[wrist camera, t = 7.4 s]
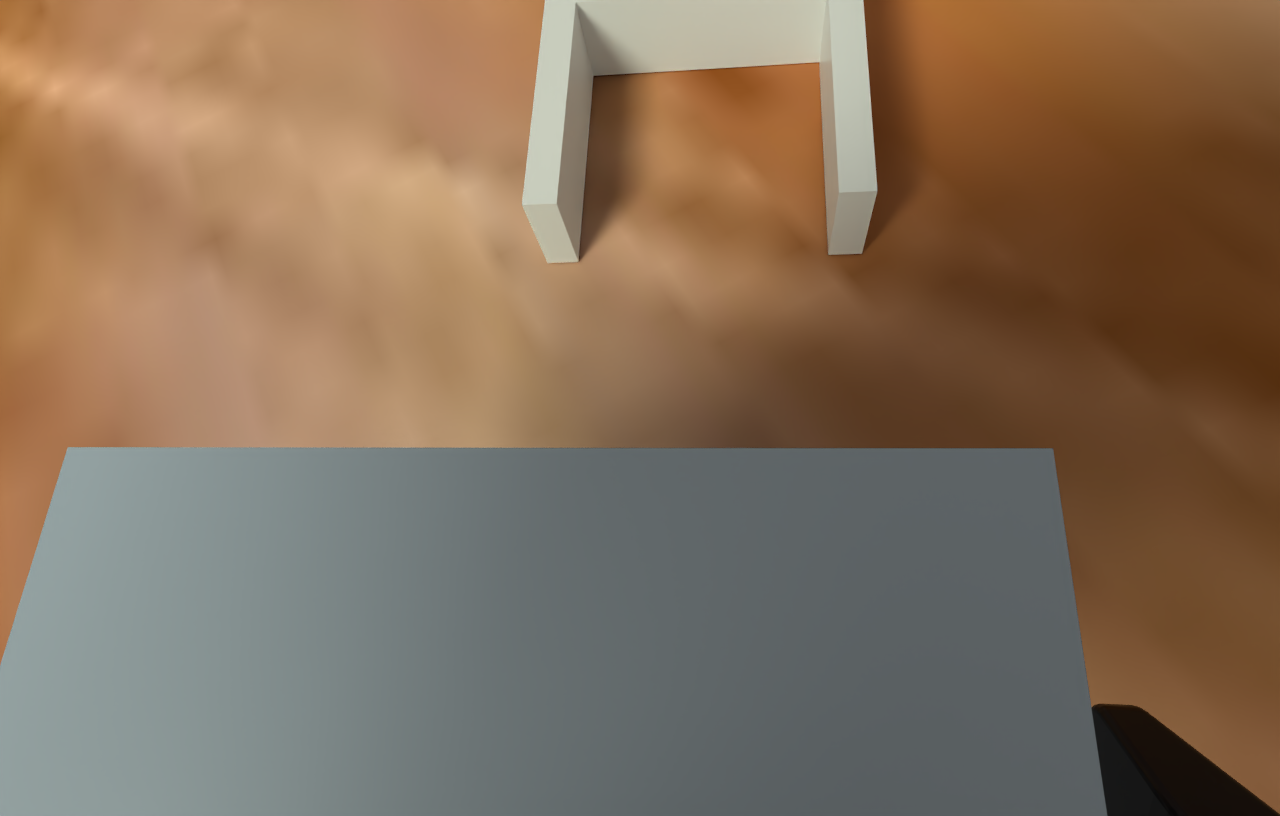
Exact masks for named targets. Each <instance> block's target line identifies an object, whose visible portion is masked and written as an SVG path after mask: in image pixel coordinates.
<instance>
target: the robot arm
mask: <svg viewBox="0 0 1280 816" xmlns="http://www.w3.org/2000/svg"><path fill="white" fill-rule="evenodd" d="M1091 709H1092V715H1093V722H1094V729H1095V736H1096V743H1097V749H1098V756H1099V763H1100V770H1101V776H1102V783H1103V790H1104V797H1105V803H1106V810H1107V816H1280V814H1279V813H1277V812H1276V811H1275V810H1274V809H1272V808H1271V807H1270V806H1268V805H1267V804H1266V803H1264V802H1263V801H1262V800H1261V799H1259V798H1258V797H1257V796H1255V795H1254V794H1253V793H1251V792H1250V791H1249V790H1248V789H1246V788H1245V787H1244V786H1242V785H1241V784H1240V783H1239V782H1237V781H1236V780H1235V779H1233V778H1232V777H1231V776H1229V775H1228V774H1227V773H1226V772H1224V771H1223V770H1222V769H1220V768H1219V767H1218V766H1216V765H1215V764H1214V763H1213V762H1211V761H1210V760H1209V759H1207V758H1206V757H1205V756H1204V755H1202V754H1201V753H1200V752H1198V751H1197V750H1196V749H1194V748H1193V747H1192V746H1191V745H1189V744H1188V743H1187V742H1185V741H1184V740H1183V739H1181V738H1180V737H1179V736H1178V735H1176V734H1175V733H1174V732H1172V731H1171V730H1170V729H1169V728H1167V727H1166V726H1165V725H1163V724H1162V723H1161V722H1159V721H1158V720H1157V719H1156V718H1154V717H1153V716H1152V715H1150V714H1149V713H1148V712H1146V711H1145V710H1143V709H1142V708H1140V707H1137V706H1133V705H1118V704H1097V705H1094V706H1093V707H1092V708H1091Z"/></svg>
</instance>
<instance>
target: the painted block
mask: <svg viewBox="0 0 1280 816" xmlns="http://www.w3.org/2000/svg"><path fill="white" fill-rule="evenodd" d="M0 816H1107V810H1106V803H1105V797H1104V790H1103V783H1102V776H1101V770H1100V763H1099V756H1098V749H1097V743H1096V736H1095V729H1094V722H1093V715H1092V709H1091V702H1090V695H1089V688H1088V682H1087V675H1086V668H1085V661H1084V655H1083V648H1082V641H1081V634H1080V628H1079V621H1078V614H1077V607H1076V601H1075V594H1074V587H1073V580H1072V574H1071V567H1070V560H1069V553H1068V546H1067V540H1066V533H1065V526H1064V519H1063V513H1062V506H1061V499H1060V492H1059V486H1058V479H1057V472H1056V465H1055V459H1054V452H1053V448H159V447H68V449H67V452H66V455H65V458H64V461H63V465H62V468H61V471H60V474H59V478H58V481H57V484H56V487H55V491H54V494H53V497H52V500H51V503H50V507H49V510H48V513H47V516H46V520H45V523H44V526H43V529H42V532H41V536H40V539H39V542H38V545H37V549H36V552H35V555H34V558H33V562H32V565H31V568H30V571H29V574H28V578H27V581H26V584H25V587H24V591H23V594H22V597H21V600H20V604H19V607H18V610H17V613H16V616H15V620H14V623H13V626H12V629H11V633H10V636H9V639H8V642H7V646H6V649H5V652H4V655H3V658H2V662H1V665H0Z"/></svg>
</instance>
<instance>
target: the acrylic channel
mask: <svg viewBox="0 0 1280 816" xmlns="http://www.w3.org/2000/svg"><path fill="white" fill-rule="evenodd" d="M813 62H819V67H820V89H821V110H822V132H823V153H824V175H825V197H826V218H827V240H828V255H836V254H862V252H863V247H864V243H865V239H866V235H867V231H868V227H869V223H870V219H871V215H872V211H873V207H874V203H875V199H876V195H877V179H876V165H875V152H874V138H873V124H872V111H871V97H870V84H869V70H868V57H867V43H866V30H865V16H864V2H863V0H545V5H544V14H543V23H542V32H541V41H540V50H539V58H538V67H537V76H536V85H535V94H534V103H533V112H532V121H531V129H530V138H529V147H528V156H527V165H526V174H525V183H524V191H523V200H522V206H523V208H524V211H525V213H526V215H527V217H528V220H529V222H530V224H531V226H532V229H533V231H534V233H535V235H536V238H537V240H538V242H539V244H540V247H541V249H542V251H543V254H544V256H545V258H546V260H547V263H562V262H578V261H579V249H580V236H581V224H582V212H583V199H584V187H585V174H586V162H587V150H588V137H589V125H590V113H591V100H592V88H593V76H599V75H615V74H632V73H648V72H665V71H681V70H698V69H714V68H731V67H747V66H764V65H780V64H797V63H813Z"/></svg>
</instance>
